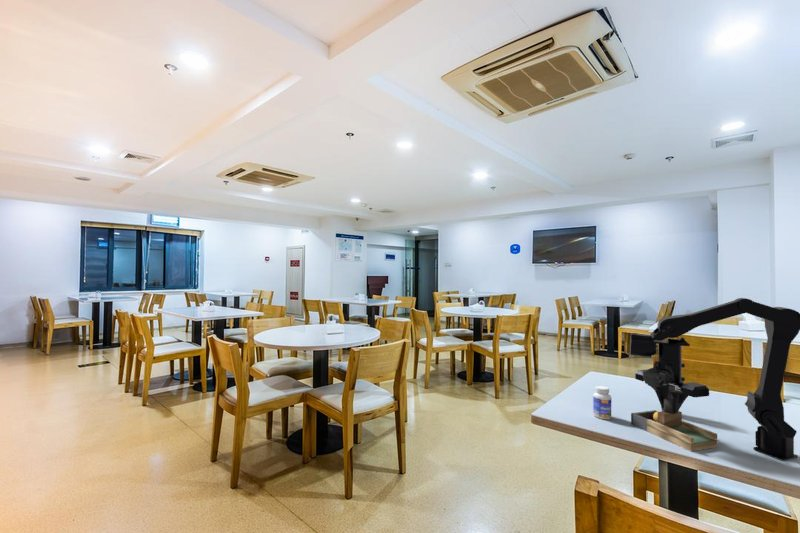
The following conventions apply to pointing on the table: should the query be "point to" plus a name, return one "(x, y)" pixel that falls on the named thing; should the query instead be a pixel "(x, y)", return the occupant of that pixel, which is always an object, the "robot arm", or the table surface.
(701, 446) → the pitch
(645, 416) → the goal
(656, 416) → the ball
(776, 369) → the robot arm
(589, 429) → the table surface
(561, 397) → the table surface
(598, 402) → the pill bottle
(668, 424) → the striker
